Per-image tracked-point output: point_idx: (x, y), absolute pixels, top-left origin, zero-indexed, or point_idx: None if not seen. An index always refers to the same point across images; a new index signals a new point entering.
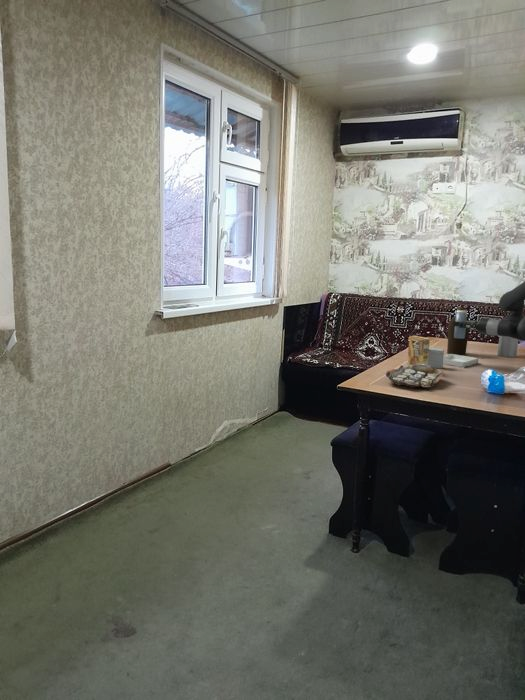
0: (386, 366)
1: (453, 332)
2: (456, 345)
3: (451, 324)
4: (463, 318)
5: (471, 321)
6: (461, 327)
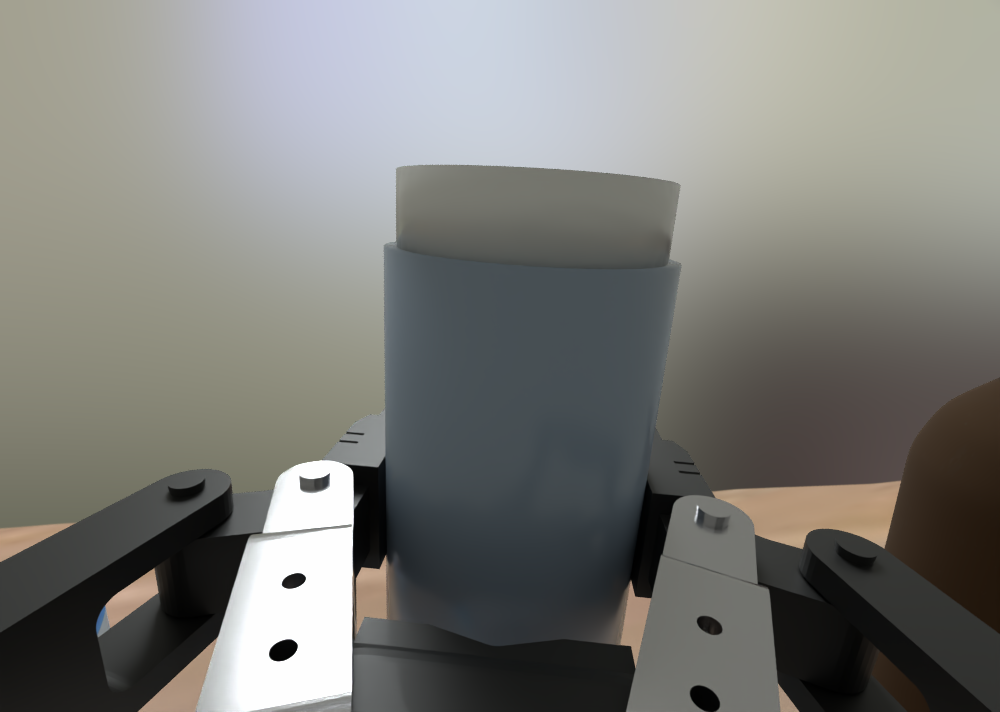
0: (16, 553)
1: (913, 542)
2: (914, 701)
3: (922, 444)
4: (408, 401)
5: (646, 643)
6: (118, 642)
